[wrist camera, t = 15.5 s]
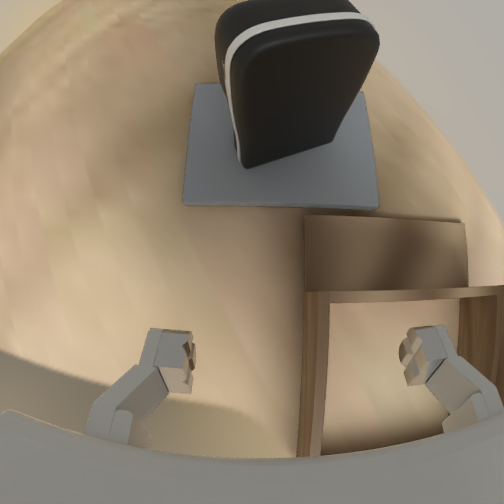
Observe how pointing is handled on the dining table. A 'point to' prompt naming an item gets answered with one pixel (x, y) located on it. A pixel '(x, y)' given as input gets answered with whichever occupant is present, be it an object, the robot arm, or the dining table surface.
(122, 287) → the dining table surface
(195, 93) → the mat
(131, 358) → the dining table surface
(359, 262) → the wooden box
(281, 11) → the battery charger
